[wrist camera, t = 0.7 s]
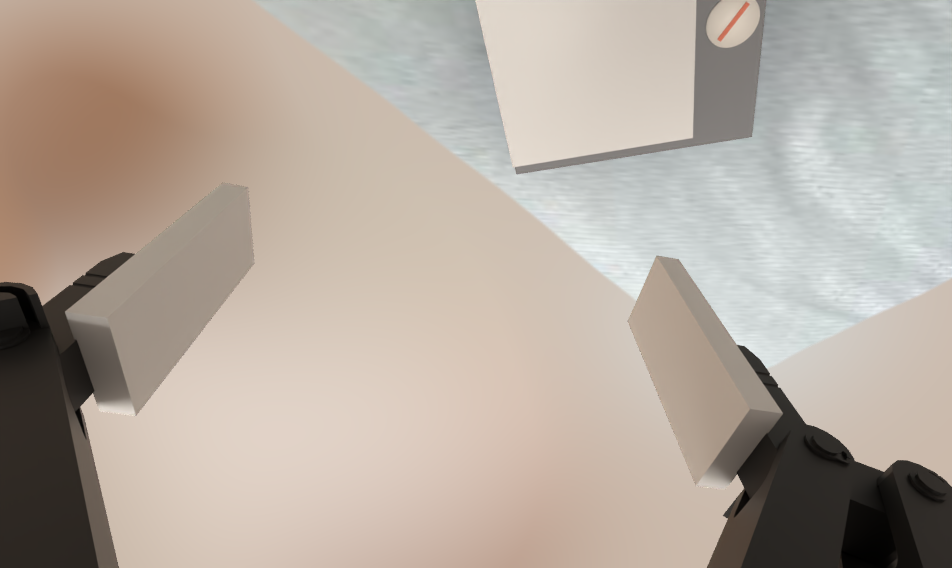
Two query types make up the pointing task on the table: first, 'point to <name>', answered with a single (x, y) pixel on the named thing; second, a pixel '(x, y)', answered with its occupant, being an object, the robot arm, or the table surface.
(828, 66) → the table surface
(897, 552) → the robot arm
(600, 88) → the scale
